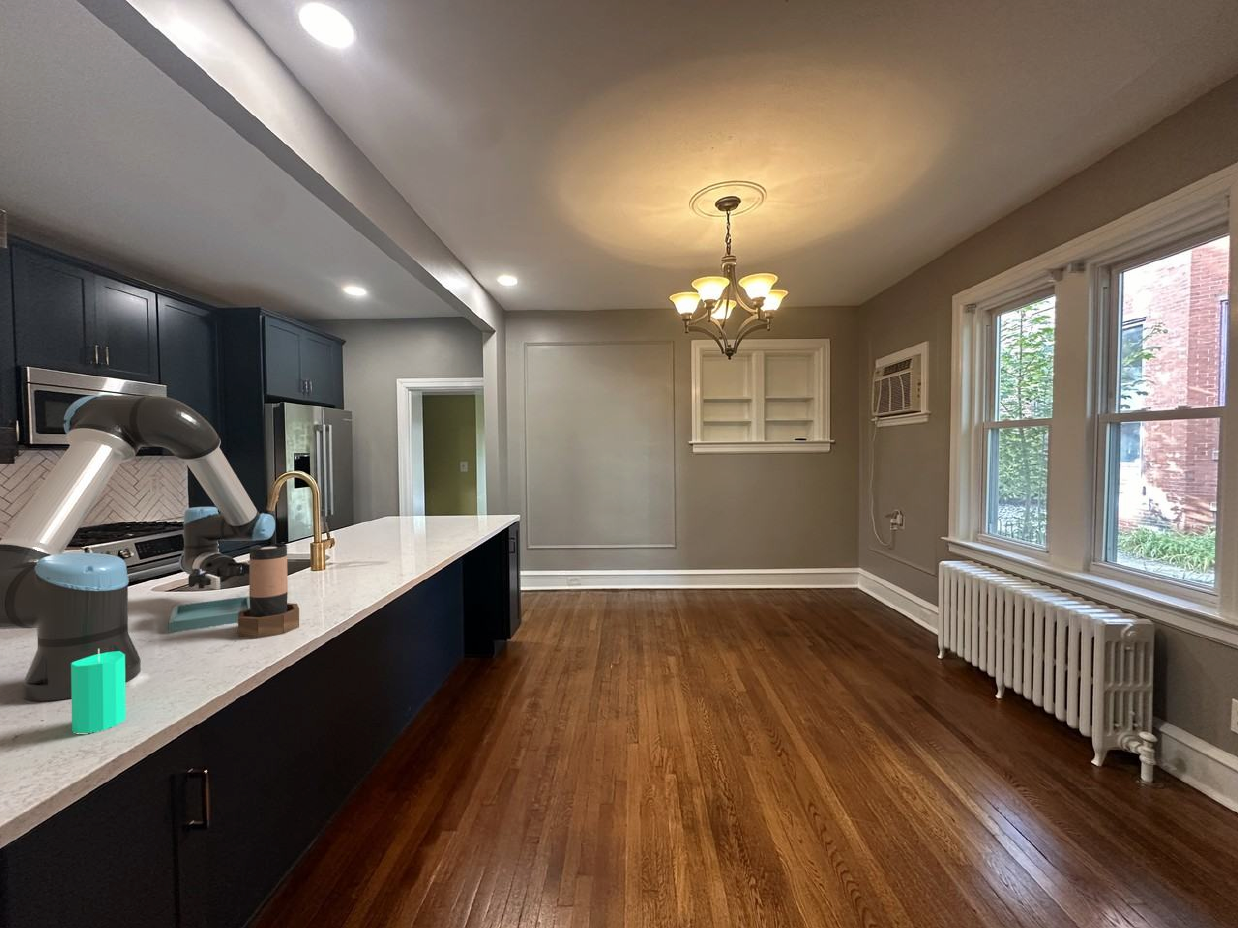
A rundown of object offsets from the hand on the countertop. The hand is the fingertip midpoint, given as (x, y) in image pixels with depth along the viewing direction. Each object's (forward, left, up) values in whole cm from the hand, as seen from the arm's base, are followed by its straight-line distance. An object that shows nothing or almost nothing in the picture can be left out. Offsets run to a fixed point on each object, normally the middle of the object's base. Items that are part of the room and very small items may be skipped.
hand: (250, 577), depth 130 cm
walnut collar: (+3, -9, -11) cm, 15 cm away
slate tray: (-8, +9, -11) cm, 16 cm away
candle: (-21, -46, -11) cm, 52 cm away
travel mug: (+3, -9, -11) cm, 15 cm away
